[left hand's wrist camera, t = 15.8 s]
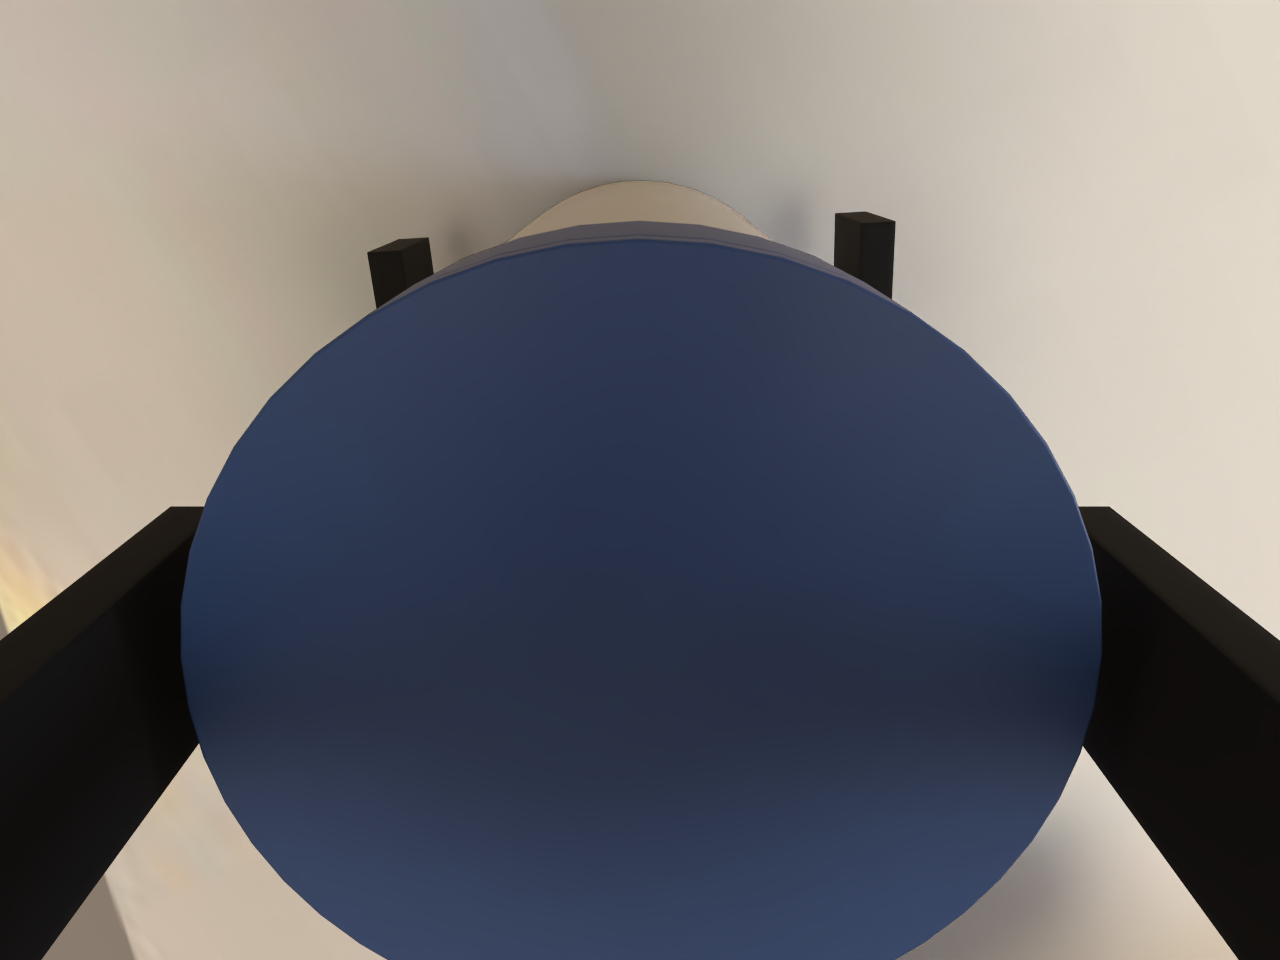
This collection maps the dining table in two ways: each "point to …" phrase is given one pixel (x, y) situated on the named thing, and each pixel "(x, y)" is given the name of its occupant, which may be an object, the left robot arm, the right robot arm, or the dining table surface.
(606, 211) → the jar
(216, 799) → the dining table surface
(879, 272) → the right robot arm
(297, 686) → the lid
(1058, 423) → the dining table surface
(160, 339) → the dining table surface
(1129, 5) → the dining table surface
